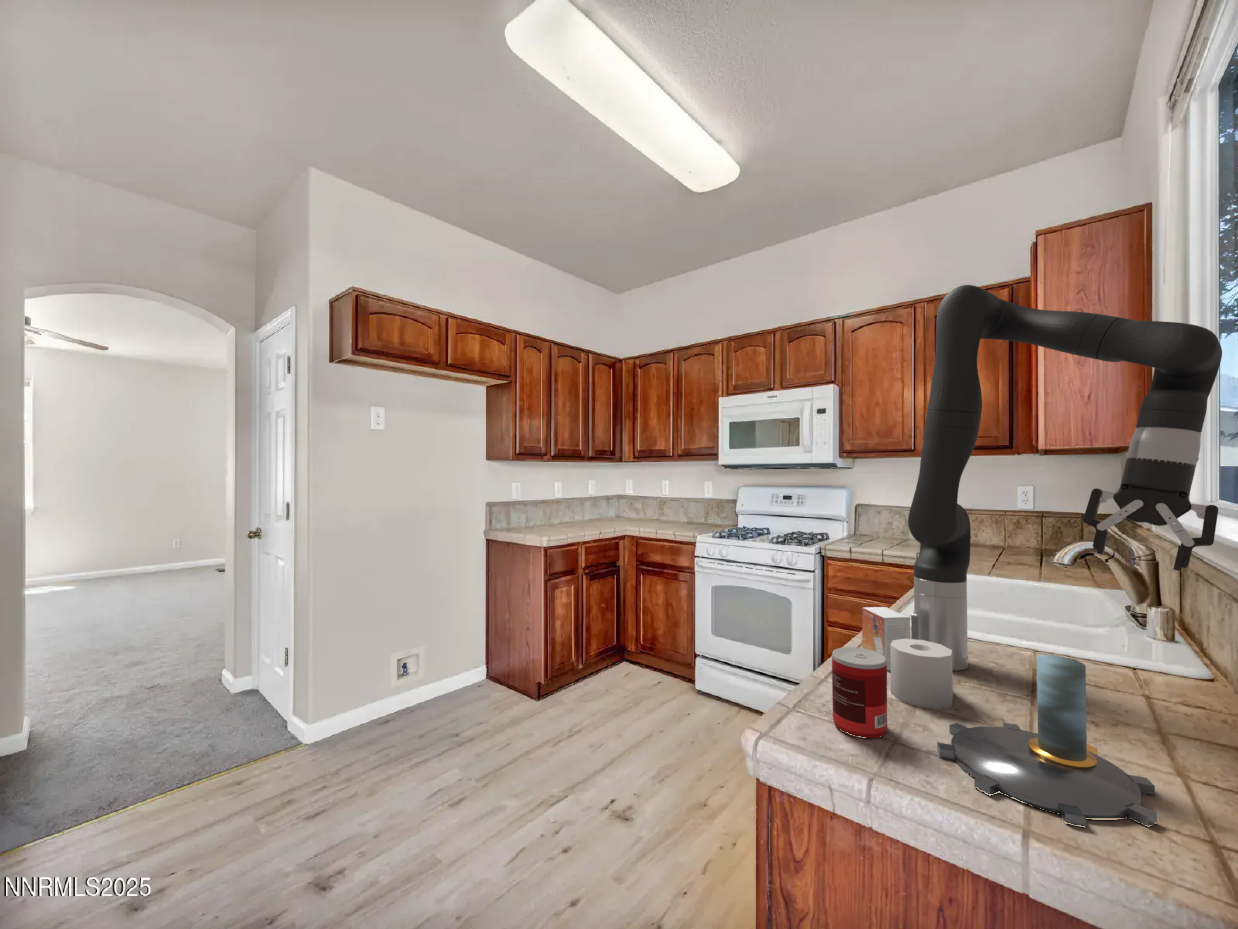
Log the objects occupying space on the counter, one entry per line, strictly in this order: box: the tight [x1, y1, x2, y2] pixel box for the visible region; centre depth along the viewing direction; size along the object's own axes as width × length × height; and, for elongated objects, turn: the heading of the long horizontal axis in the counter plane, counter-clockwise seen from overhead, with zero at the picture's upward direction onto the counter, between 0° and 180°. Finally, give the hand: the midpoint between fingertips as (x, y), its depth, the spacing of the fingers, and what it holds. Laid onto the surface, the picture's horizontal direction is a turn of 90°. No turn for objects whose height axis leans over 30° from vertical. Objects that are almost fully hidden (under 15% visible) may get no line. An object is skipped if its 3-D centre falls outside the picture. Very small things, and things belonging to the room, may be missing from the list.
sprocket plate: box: [936, 722, 1158, 827], centre depth 67 cm, size 21×22×2 cm
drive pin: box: [1036, 654, 1088, 761], centre depth 70 cm, size 5×5×12 cm
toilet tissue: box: [890, 638, 954, 711], centre depth 91 cm, size 9×13×9 cm
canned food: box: [831, 646, 888, 739], centre depth 79 cm, size 8×8×11 cm
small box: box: [861, 606, 911, 671], centre depth 106 cm, size 8×6×10 cm
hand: (1137, 561), depth 81 cm, fingers open, 8 cm apart
